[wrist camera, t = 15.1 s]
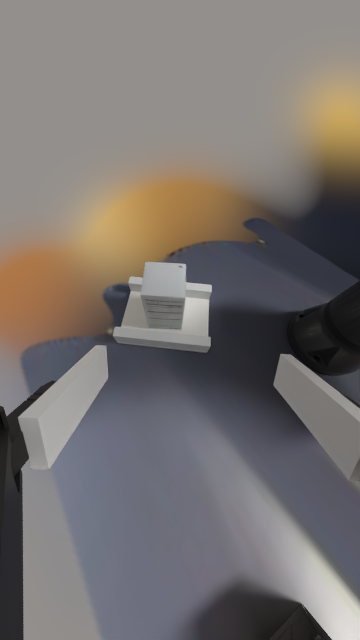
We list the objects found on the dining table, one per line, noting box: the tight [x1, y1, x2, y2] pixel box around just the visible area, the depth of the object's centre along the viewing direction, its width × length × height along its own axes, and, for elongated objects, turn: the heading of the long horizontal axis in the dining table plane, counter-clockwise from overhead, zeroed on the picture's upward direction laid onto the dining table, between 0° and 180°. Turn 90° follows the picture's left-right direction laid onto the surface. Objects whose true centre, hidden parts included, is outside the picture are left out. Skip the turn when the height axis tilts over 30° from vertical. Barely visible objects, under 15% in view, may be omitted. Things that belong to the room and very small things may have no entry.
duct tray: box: [113, 276, 212, 353], centre depth 39 cm, size 19×15×4 cm
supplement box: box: [140, 262, 186, 330], centre depth 35 cm, size 7×7×13 cm
